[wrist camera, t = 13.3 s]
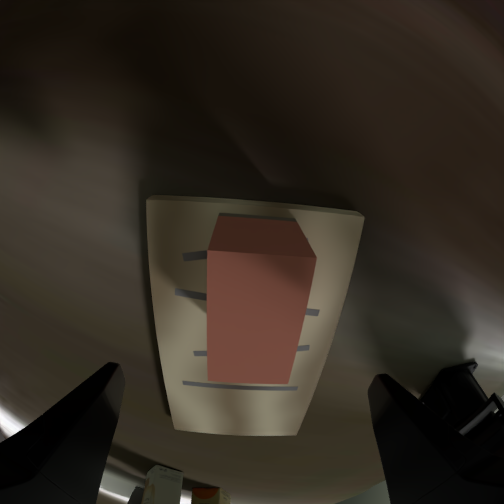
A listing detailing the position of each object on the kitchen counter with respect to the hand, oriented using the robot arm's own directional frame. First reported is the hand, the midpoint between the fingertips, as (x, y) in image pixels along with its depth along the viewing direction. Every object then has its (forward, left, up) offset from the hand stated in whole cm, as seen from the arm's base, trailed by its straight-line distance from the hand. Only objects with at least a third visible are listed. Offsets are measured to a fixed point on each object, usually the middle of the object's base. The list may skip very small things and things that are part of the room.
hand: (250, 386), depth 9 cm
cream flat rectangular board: (0, +7, -9) cm, 12 cm away
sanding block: (0, 0, -8) cm, 8 cm away
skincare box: (+10, +36, -10) cm, 39 cm away
